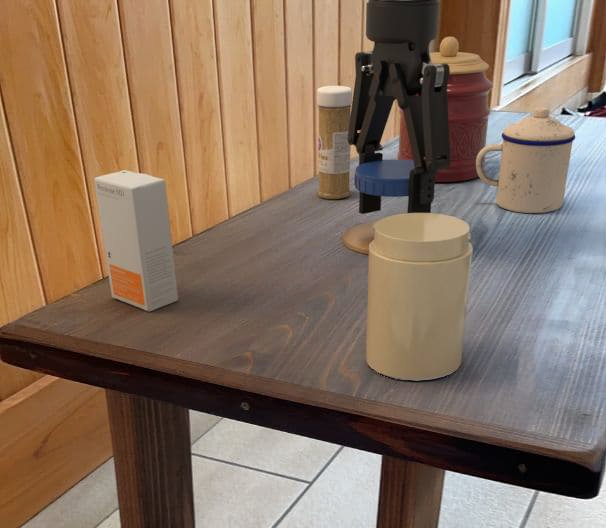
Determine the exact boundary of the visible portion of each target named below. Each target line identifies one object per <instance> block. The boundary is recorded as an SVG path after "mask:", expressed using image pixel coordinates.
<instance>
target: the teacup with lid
mask: <svg viewBox="0 0 606 528" xmlns="http://www.w3.org/2000/svg"><path fill="white" fill-rule="evenodd" d="M550 110H551V109H550V108H549V107H546V106H536V107H535V108H533V111H532V115H529V116H526V117H524V118H523V119H521V120H520V121H518V122H516V123H512V124H509V125H507V126H506V127H504V129H503V132H502V133H501V138H502V144H500V143H497V144H496V143H494V144H493V143H492V144H488V145H486V147H484V148H483V149H482V150H481V151H480V152H479V153H478V156H477V159H476V169H477V173H478V175H479V176H478V177H479V179H480V181H481V182H483V184H485V185H487V186H493V187H497V191H496V204H497V206H498V207H500V208H502V209H503V210H507V211H510V212H515V213H522V214H545V213H550V212H554V211H557V210H559V209H561V207H562V206H563V204H564V198H565V191H566V188H567V187H566V186H567V180H568V173H569V168H570V160H571V156H572V155H571V154H572V147H573V142H574V141H575V140H576V133H575V130H574V129H573V128H572V127H570V126H568V125H566V124H563V123H562V122H560V120H559V119H557V118H555V117H554V116H551V115H550V113H551V111H550ZM489 152H501V155H500V163H499V164H500V165H499V173H498V179H495V178H491V177H488V176H487V175H486V174H485V173H484V171H482V168H481V160H482V158H483V156H484V155H486V154H488V153H489Z"/></svg>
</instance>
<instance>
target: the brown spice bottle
mask: <svg viewBox="0 0 606 528" xmlns="http://www.w3.org/2000/svg"><path fill="white" fill-rule="evenodd" d="M352 101H353V89H352V88H351V87H349V86H347V85H346V86H345V85H325V86H321V87H319V88H317V92H316V104H317V108H318V134H317V135H318V139H317V141H318V146H317V147H318V153H317V154H318V160H317V163H318V165H317V167H318V169H317V170H318V190H317V195H318V197H320V198H322V199H325V200H339V199H344V198H348V197H349V196H350V194H351V190H350V171H351V145H349V143H348V131H349V123H350V116H351V108H352Z"/></svg>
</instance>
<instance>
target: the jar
mask: <svg viewBox="0 0 606 528" xmlns="http://www.w3.org/2000/svg"><path fill="white" fill-rule="evenodd" d="M375 222H376V223H375V224H374V226H373V229H374V240H373V241H372V242H371V243H370V245H369V255H368V261H367V262H368V263H367V264H368V266H367V299H366V300H367V302H366V331H365V332H366V333H365V334H366V336H365V337H366V338H365V339H366V340H365V363H366V362H367V363H368V365H369V366H370V367H371V368H372V369H374V370H376V371H377V372H379V373H382V374H385V375H388V376H392V377H397V378H405V379H422V378H423V379H424V378H431V377H438V376H442V375H446V374H449V373H451V372H453V371H455V370H456V369H457V368H459V366H460V365H461V366H462V362H463V353H464V342H465V330H466V323H467V322H466V321H467V312H468V301H469V292H470V282H471V281H470V280H471V272H472V263H473V251H474V247H473V245H472V243H471V242H469V241H470V240H471V236H472V234H471V232H470V231H471V229H470V228H471V226H470V225H469V224H468V222H467V221H465V220H463V219H461V218H458V217H456V216H451V215H447V214H443V213H442V214H441V213H434V212H433V213H408V212H406V213H398V214H392V215H389V216H385V217H383V218H381V219H379V220H378V222H377V221H375ZM367 363H366V364H367ZM368 365H367V366H368ZM461 366H460V367H461ZM459 369H460V368H459Z"/></svg>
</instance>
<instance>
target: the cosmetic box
mask: <svg viewBox="0 0 606 528" xmlns="http://www.w3.org/2000/svg"><path fill="white" fill-rule="evenodd" d="M93 183H94V189H95V196H96V202H97V203H96V204H97V209H98V210H97V211H98V215H99V222H100V228H101V236H102V241H103V242H102V243H103V249H104V255H105V261H106V268H107V274H108V280H109V287H110V293H111V298H112V299H114V300H119V301H121V302H124V303H126V304H128V305H132V306H134V307H136V308H139V309H142V310H144V311H145V312H149V313H151V312H153V311H155V310H157V309H160V308H162V307H165V306H168V305H170V304H172V303H175V302H177V301H179V296H178V295H179V294H178V286H177V277H176V269H175V258H174V250H173V239H172V232H171V230H172V229H171V223H170V212H169V204H168V194H167V184H166V180H165V179H164V178H160V177H157V176H152V175H150V174H148V173H142V172H141V173H140V172H135V171H132V170H127V169H124V170H120V171H116V172H111V173H108V174H107V173H106V174H103V175H100V176H96V177H93Z"/></svg>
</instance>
